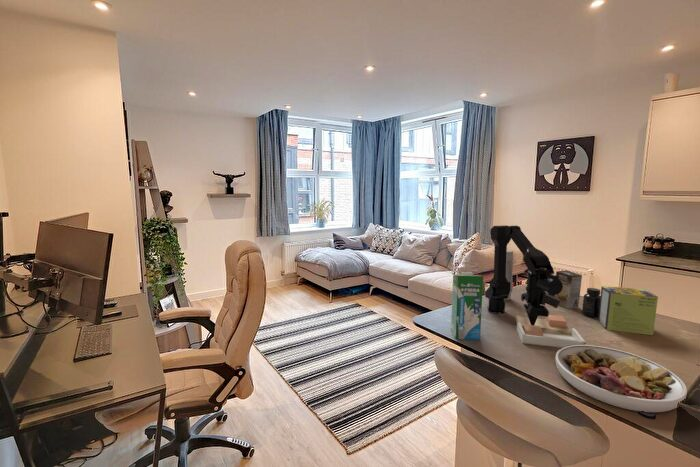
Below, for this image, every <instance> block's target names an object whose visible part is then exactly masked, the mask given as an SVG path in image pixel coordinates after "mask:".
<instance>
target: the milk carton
mask: <svg viewBox="0 0 700 467" xmlns="http://www.w3.org/2000/svg"><path fill="white" fill-rule="evenodd" d="M483 288H484V275H479V274H478V275H477V274H475V275H473V272H471V271H462V272H461V274H453V275H452V295H451V296H452V298H451V300H452V301H451V320H450V324H451V325H450V329H451V331H452V334H453V337H454V338H455V340H472V341H473V340H475V341H480V340H481V329H482V328H481V326H482V310H483V309H482V306H483Z"/></svg>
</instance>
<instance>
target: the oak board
mask: <svg viewBox="0 0 700 467" xmlns="http://www.w3.org/2000/svg"><path fill="white" fill-rule="evenodd" d="M515 322H516V323H515V324H517V322H518V323H521V326H522V328H523V324H526V325H531V324H530V321H529V318H528V316H519V315H517V316H515ZM535 325H536V326H540V327H541V329H542V331H543V332H549V333H558V334H567V335H571V331H572V329H571V328H570V327H569V326H568V324H566V328H565V327H556V326H549V325H548V323H547V322H546V320H545V318H537V320H536V322H535Z"/></svg>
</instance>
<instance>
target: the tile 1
mask: <svg viewBox="0 0 700 467" xmlns="http://www.w3.org/2000/svg"><path fill="white" fill-rule="evenodd" d="M523 330H524V332H525V334H527V335H536V336H543V333H544V332H543V331H542V329H541V327H540V326H536V325H526V324H523Z"/></svg>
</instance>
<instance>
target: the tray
mask: <svg viewBox="0 0 700 467" xmlns="http://www.w3.org/2000/svg"><path fill="white" fill-rule="evenodd" d="M516 331H517V333H518V336H519V338H520V341H521V344H525V345H533V346H540V347H541V346H542V347H550V348H558V349H562V348H564V347H567V346H573V345H587V342H586V340H585V339H584V338H583V337H582V336H581V334H580V333H579V332H578V331H577V329H576V328H573V327H571V335H567V334H558V333H549V332H544V333H543V336H536V335H527V334H525V332H524V330H523V328H522V326H521V323H518V322H517V323H516Z"/></svg>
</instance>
